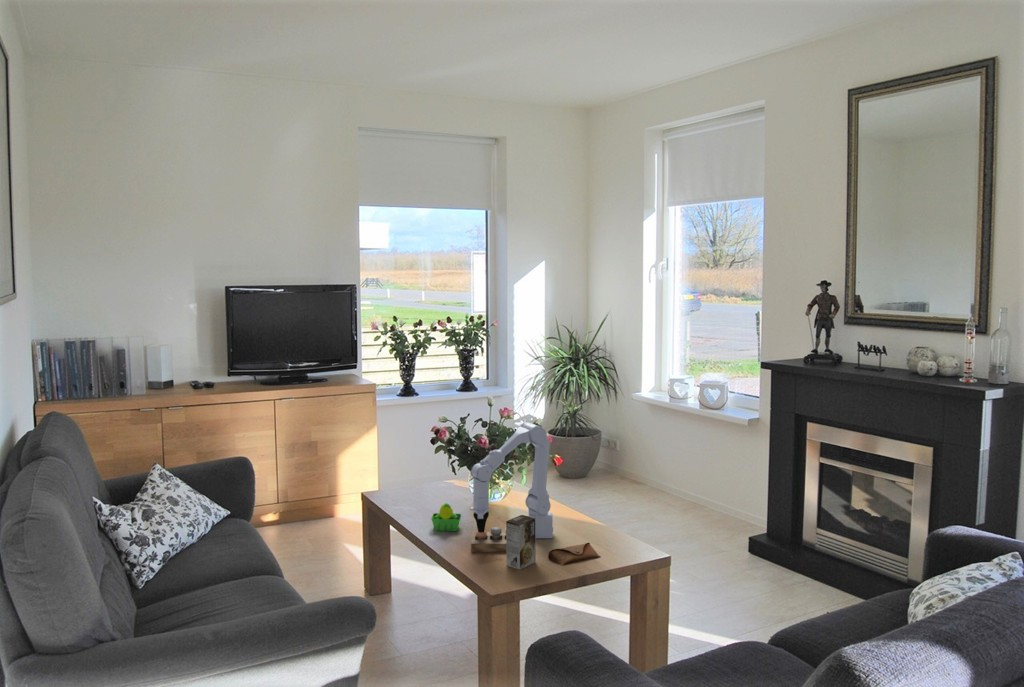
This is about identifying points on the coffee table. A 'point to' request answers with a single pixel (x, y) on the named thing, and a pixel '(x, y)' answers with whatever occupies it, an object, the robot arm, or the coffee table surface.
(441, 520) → the fruit basket
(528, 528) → the coffee box
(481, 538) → the pink ball
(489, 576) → the coffee table surface
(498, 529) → the blue-grey ball
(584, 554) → the sunglasses case
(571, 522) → the coffee table surface
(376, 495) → the coffee table surface
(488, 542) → the wooden tray
